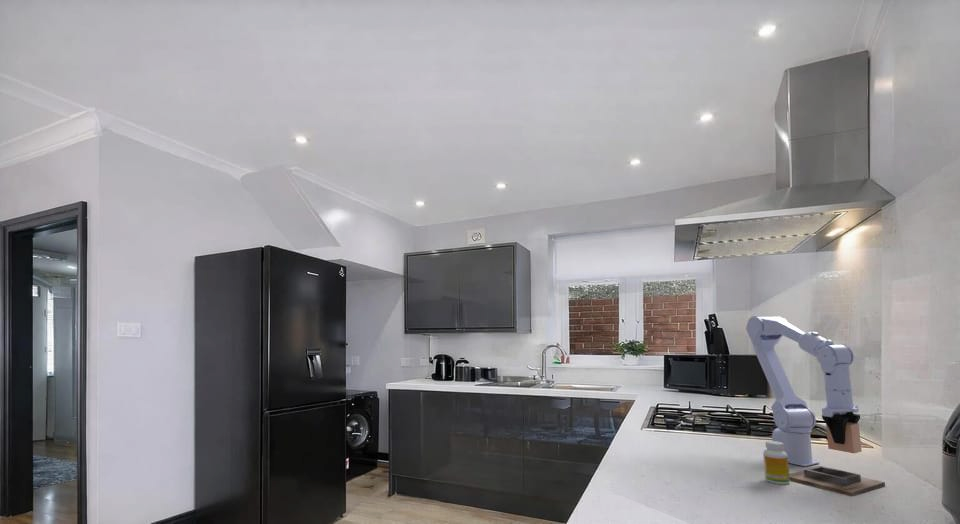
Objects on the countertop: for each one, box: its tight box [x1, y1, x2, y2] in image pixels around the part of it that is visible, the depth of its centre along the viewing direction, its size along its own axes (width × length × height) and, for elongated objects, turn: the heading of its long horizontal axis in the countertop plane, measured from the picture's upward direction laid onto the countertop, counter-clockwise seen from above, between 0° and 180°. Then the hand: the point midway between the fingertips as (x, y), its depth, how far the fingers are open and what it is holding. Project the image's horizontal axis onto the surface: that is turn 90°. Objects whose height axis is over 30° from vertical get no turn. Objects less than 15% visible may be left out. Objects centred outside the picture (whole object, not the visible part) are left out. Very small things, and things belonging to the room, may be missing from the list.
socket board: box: [789, 465, 886, 497], centre depth 126 cm, size 16×16×2 cm
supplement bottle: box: [762, 440, 791, 485], centre depth 127 cm, size 5×5×10 cm
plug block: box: [825, 422, 863, 454], centre depth 130 cm, size 6×4×7 cm, turn 30°
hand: (843, 442), depth 130 cm, fingers closed on plug block, 4 cm apart
